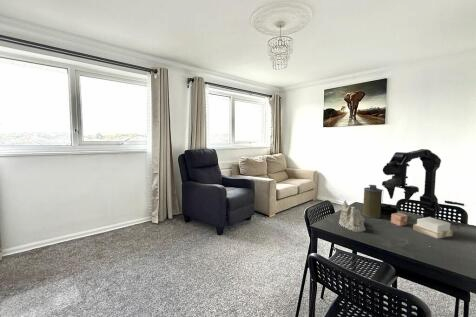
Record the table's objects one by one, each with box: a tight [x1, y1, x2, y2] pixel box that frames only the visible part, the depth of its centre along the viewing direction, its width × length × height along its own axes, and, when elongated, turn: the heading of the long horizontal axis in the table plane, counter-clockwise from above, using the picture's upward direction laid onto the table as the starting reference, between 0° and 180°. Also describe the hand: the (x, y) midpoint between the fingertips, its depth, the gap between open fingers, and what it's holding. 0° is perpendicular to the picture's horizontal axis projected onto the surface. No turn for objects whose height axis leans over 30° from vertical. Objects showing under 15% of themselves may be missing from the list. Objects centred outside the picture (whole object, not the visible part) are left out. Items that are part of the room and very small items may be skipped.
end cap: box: [380, 202, 399, 217], centre depth 155 cm, size 10×7×7 cm
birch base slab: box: [412, 223, 454, 239], centre depth 126 cm, size 12×12×4 cm
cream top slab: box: [416, 217, 451, 232], centre depth 126 cm, size 10×10×4 cm
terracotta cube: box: [390, 212, 408, 227], centre depth 139 cm, size 6×6×6 cm
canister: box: [361, 184, 384, 219], centre depth 152 cm, size 11×10×20 cm
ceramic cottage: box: [338, 200, 367, 233], centre depth 136 cm, size 16×16×15 cm
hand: (398, 200), depth 136 cm, fingers open, 9 cm apart
